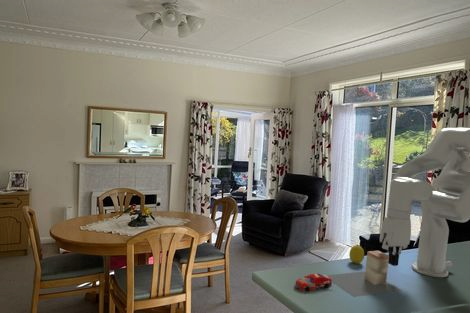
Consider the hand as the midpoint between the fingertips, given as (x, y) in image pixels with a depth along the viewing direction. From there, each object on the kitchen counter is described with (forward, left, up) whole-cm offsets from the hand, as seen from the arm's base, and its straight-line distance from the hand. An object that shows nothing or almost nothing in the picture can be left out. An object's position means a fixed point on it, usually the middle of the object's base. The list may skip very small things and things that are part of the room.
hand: (392, 264), depth 129 cm
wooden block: (+7, 0, -6) cm, 9 cm away
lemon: (+2, -16, -6) cm, 17 cm away
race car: (+31, -3, -7) cm, 32 cm away
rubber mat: (+13, 0, -6) cm, 15 cm away
